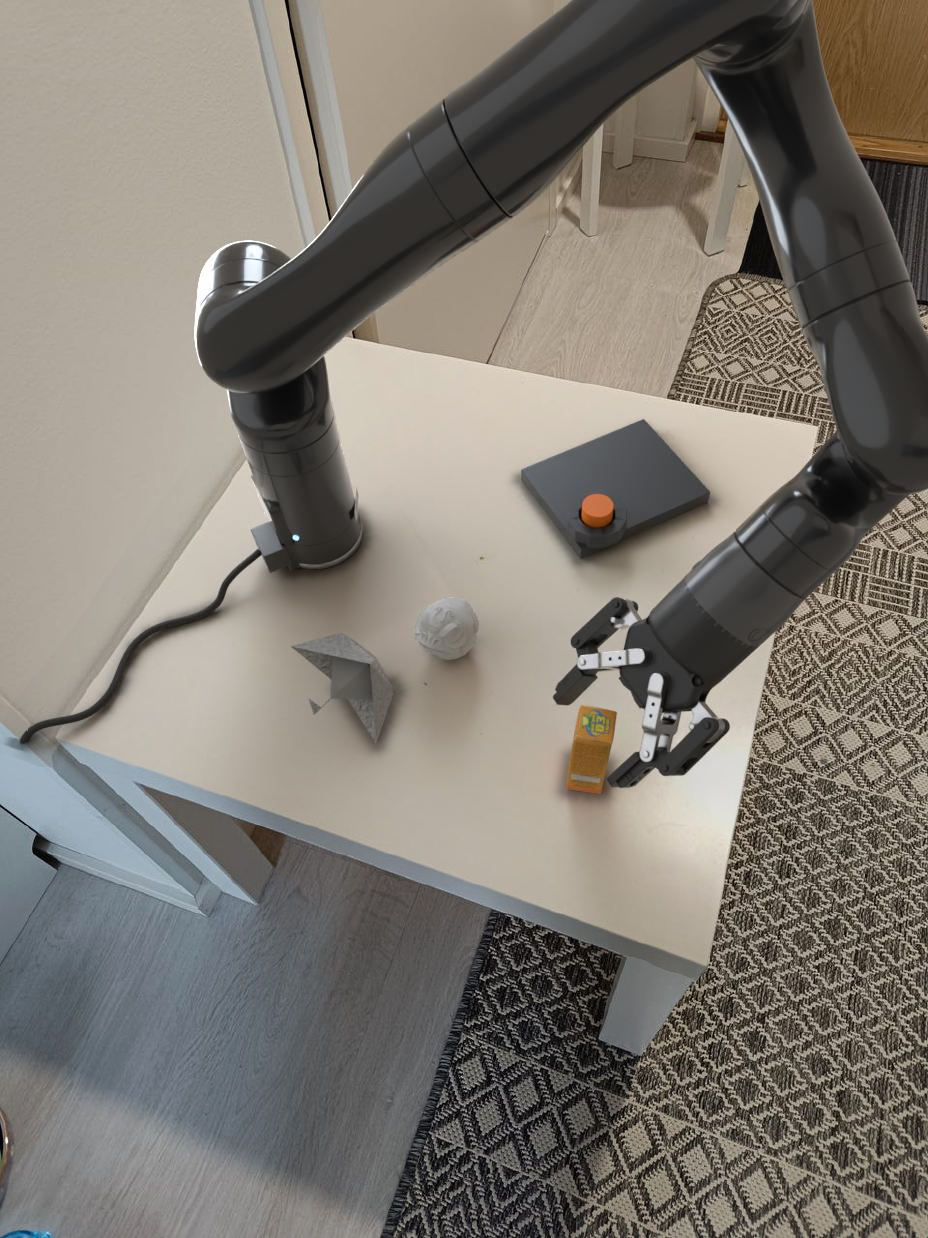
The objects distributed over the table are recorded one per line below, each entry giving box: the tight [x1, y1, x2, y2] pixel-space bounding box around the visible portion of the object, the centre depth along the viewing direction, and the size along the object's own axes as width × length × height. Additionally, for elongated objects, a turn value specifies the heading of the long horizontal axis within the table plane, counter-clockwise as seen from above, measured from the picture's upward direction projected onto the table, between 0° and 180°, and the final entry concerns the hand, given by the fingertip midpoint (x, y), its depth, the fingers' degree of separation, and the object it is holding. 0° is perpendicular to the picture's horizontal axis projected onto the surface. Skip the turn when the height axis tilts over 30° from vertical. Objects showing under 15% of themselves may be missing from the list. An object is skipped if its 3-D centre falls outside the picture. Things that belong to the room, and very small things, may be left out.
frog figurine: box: [413, 596, 480, 661], centre depth 86 cm, size 6×7×7 cm
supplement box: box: [565, 705, 618, 795], centre depth 77 cm, size 3×3×10 cm
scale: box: [520, 418, 711, 560], centre depth 98 cm, size 16×14×4 cm
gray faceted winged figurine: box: [290, 632, 395, 744], centre depth 84 cm, size 12×6×9 cm
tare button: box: [581, 494, 614, 528], centre depth 93 cm, size 3×3×2 cm
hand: (586, 741), depth 75 cm, fingers open, 8 cm apart
